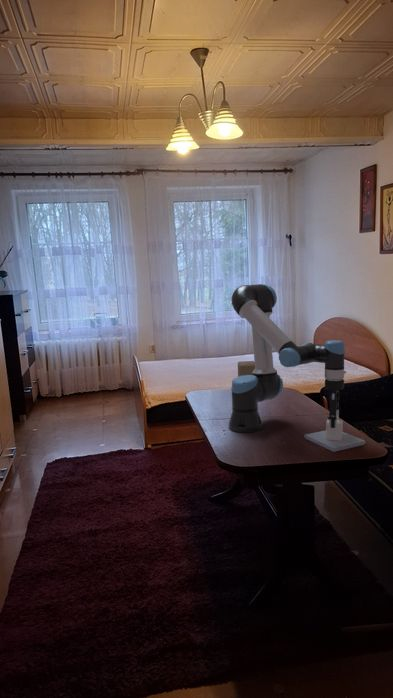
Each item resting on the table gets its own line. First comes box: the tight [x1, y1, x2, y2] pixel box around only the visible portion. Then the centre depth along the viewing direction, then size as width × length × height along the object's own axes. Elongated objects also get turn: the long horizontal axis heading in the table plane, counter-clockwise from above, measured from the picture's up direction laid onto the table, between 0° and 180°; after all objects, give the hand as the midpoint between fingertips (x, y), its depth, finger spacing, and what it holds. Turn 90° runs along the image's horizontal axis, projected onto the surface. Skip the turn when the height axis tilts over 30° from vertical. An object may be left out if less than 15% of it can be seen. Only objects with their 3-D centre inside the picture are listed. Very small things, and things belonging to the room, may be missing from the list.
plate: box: [304, 429, 366, 453], centre depth 188 cm, size 16×18×7 cm
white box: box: [325, 418, 344, 441], centre depth 188 cm, size 6×6×8 cm
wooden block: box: [237, 360, 255, 377], centre depth 264 cm, size 10×10×20 cm
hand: (334, 429), depth 188 cm, fingers open, 13 cm apart
